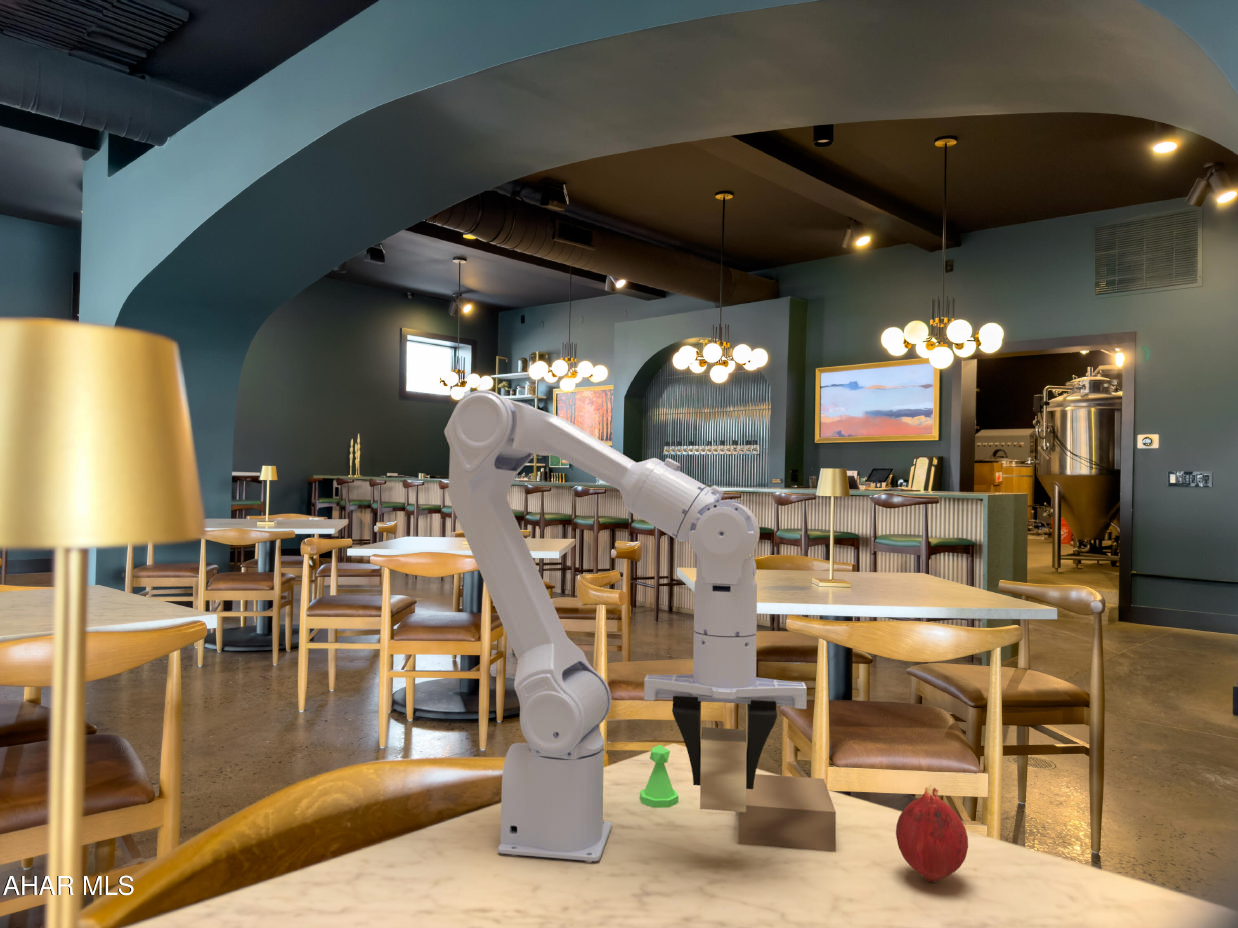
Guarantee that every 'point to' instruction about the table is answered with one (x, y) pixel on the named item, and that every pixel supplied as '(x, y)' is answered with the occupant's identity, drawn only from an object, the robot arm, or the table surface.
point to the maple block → (723, 769)
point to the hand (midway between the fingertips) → (723, 783)
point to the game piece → (659, 782)
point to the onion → (931, 837)
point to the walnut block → (788, 814)
